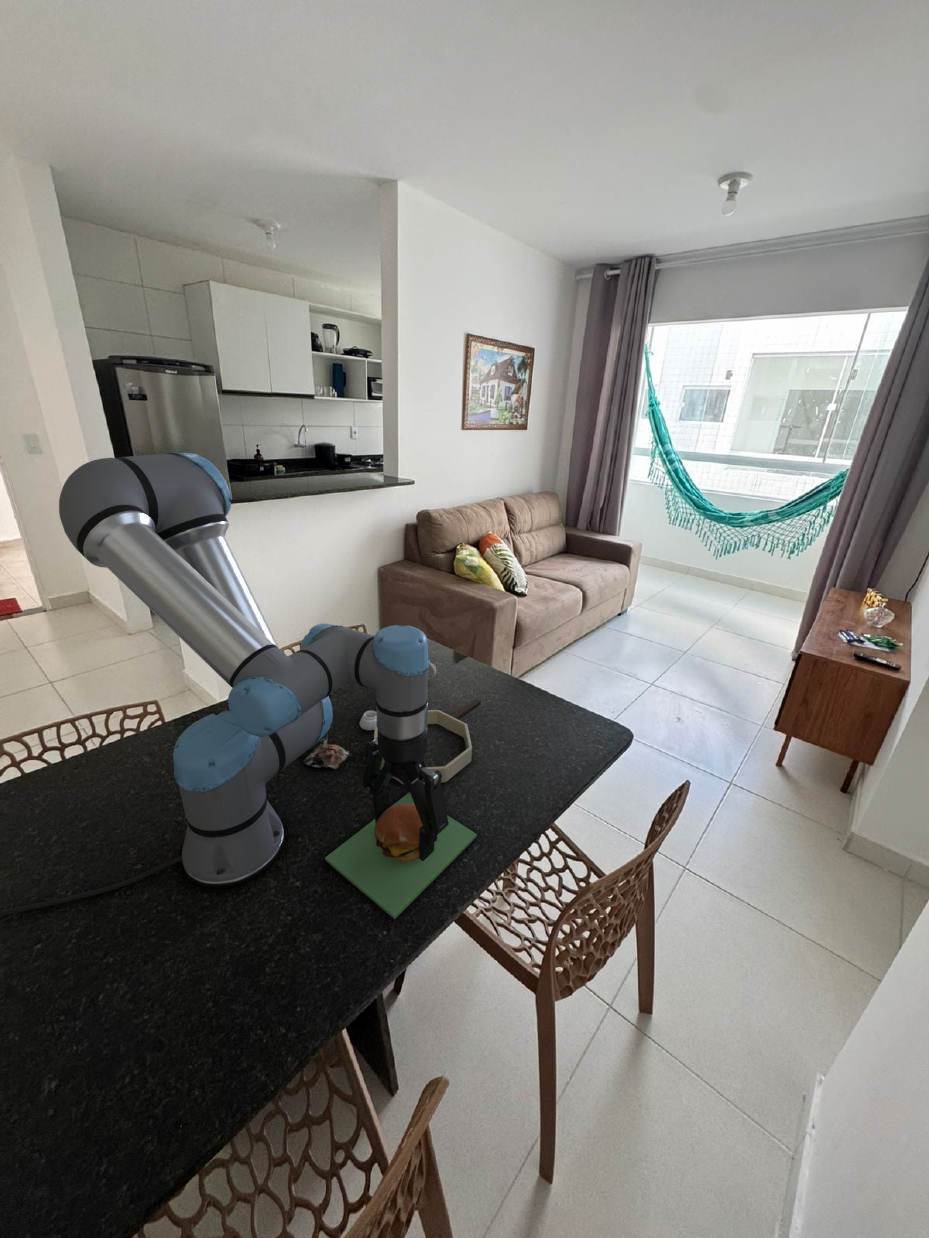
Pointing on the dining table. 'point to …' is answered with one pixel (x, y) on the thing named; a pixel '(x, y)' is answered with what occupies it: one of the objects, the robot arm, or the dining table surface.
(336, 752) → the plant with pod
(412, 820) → the burger
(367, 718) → the white upturned bowl
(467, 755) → the pan
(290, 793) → the dining table surface
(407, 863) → the napkin mat
